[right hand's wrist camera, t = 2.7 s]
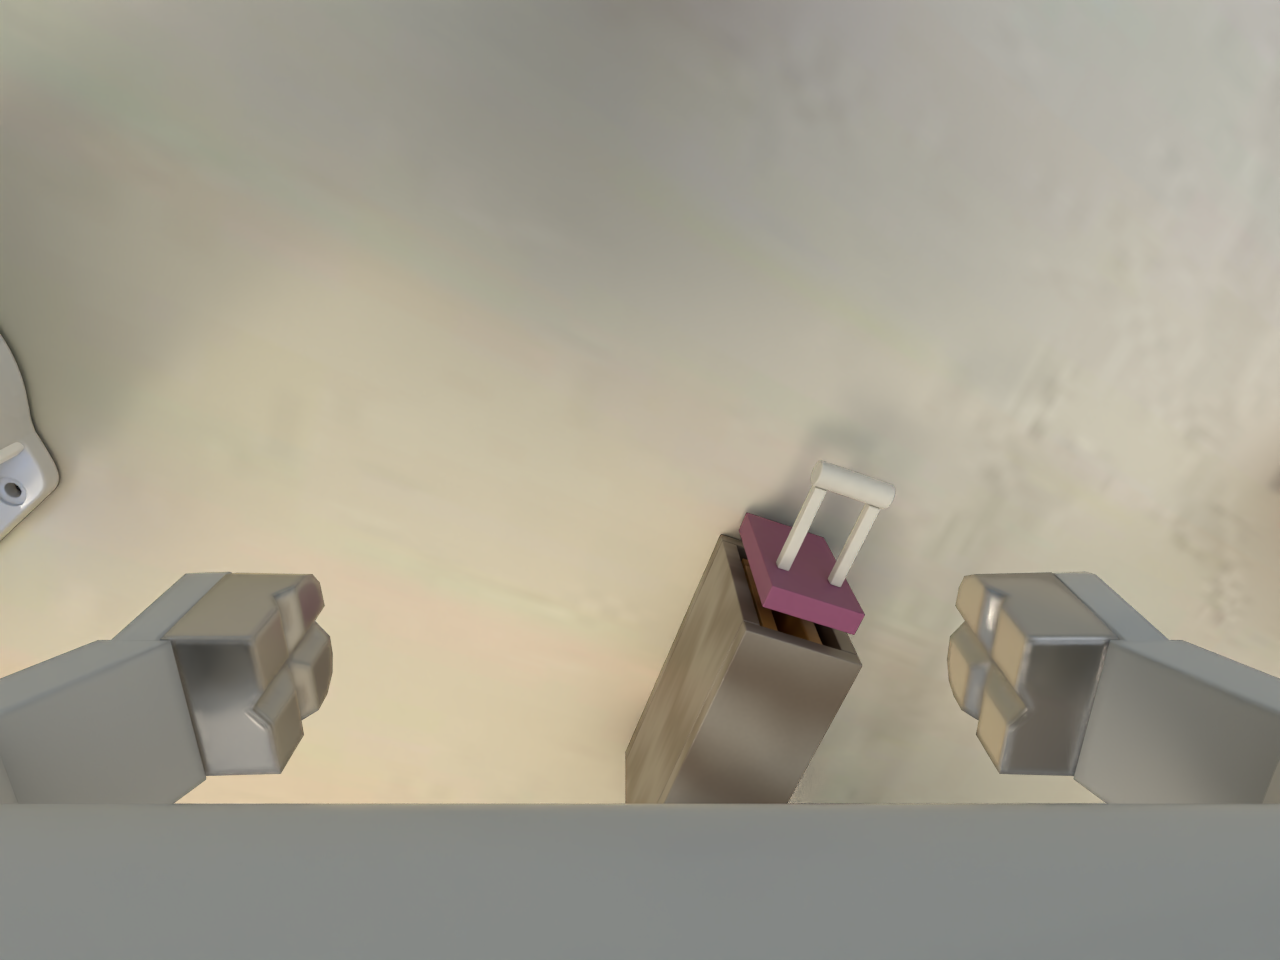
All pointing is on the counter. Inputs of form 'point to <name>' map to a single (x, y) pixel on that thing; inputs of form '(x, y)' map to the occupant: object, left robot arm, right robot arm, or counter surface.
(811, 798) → the counter surface
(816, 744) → the cabinet
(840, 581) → the drawer
